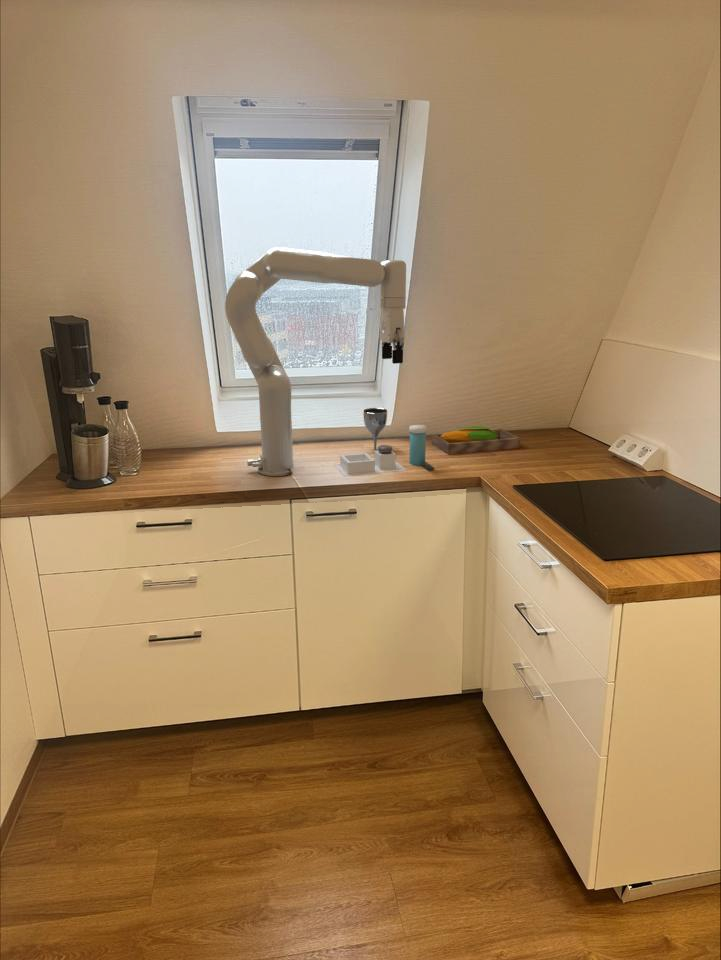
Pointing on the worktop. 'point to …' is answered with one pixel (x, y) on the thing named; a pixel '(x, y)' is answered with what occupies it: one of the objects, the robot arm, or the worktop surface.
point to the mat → (428, 466)
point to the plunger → (385, 449)
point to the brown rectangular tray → (478, 443)
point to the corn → (470, 435)
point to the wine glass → (375, 421)
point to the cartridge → (417, 444)
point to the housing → (368, 464)
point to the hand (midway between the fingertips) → (392, 360)
